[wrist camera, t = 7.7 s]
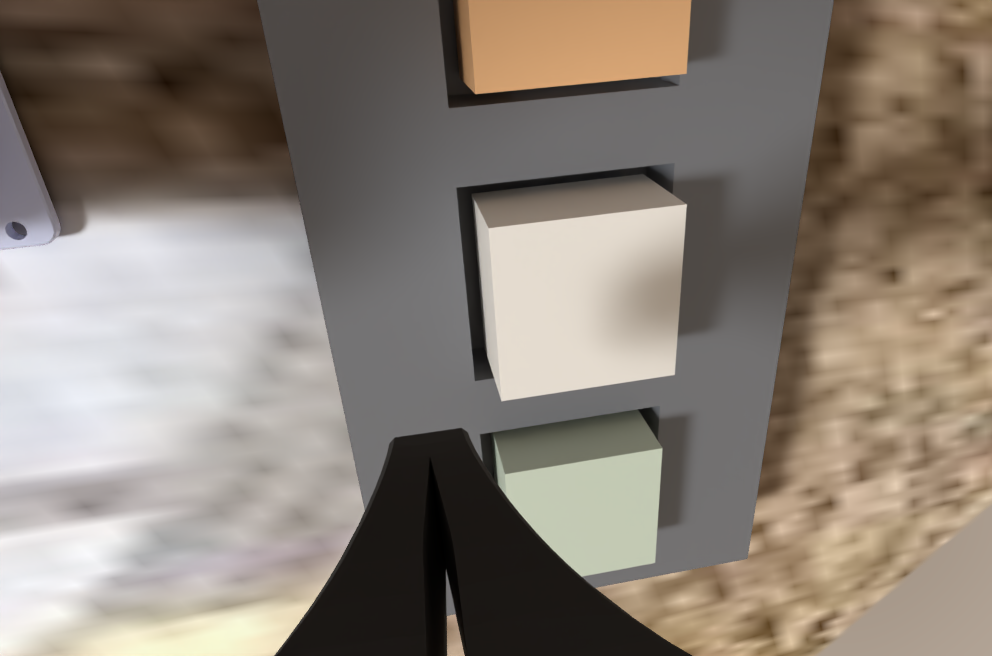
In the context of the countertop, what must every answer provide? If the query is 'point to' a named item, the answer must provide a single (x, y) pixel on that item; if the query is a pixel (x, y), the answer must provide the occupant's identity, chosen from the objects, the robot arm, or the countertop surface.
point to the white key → (579, 283)
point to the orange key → (568, 41)
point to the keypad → (536, 162)
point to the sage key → (586, 487)
